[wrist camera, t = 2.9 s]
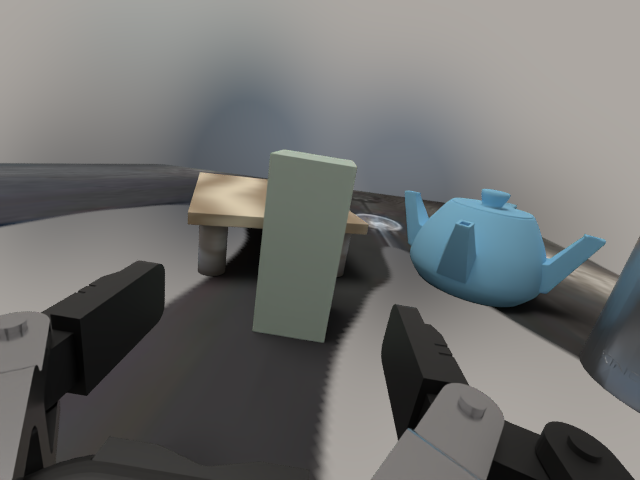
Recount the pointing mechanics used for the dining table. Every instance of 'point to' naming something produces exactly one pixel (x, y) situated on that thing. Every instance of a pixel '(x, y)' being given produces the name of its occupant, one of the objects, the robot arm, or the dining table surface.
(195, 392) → the dining table surface
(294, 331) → the sage post
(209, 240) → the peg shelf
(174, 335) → the dining table surface
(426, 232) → the teapot
